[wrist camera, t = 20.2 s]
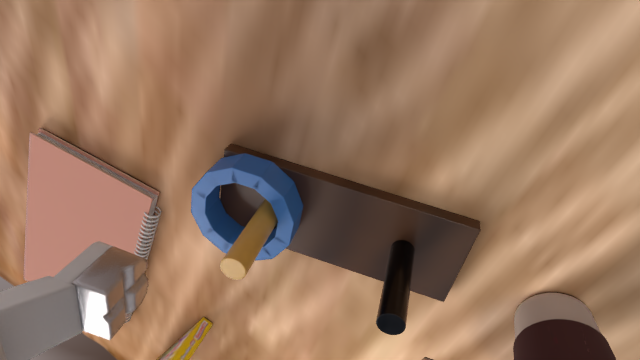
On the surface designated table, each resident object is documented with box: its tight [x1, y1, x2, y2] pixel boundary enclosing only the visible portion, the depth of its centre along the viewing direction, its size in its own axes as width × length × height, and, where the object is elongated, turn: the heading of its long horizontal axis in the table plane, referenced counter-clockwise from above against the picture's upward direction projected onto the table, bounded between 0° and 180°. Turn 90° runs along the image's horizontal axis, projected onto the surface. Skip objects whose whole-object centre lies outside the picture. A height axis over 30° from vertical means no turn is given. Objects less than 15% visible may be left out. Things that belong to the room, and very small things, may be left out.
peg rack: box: [220, 144, 480, 335], centre depth 41 cm, size 26×10×12 cm, turn 79°
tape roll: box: [191, 153, 303, 261], centre depth 44 cm, size 11×11×3 cm
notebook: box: [24, 128, 161, 323], centre depth 57 cm, size 27×17×2 cm, turn 156°
